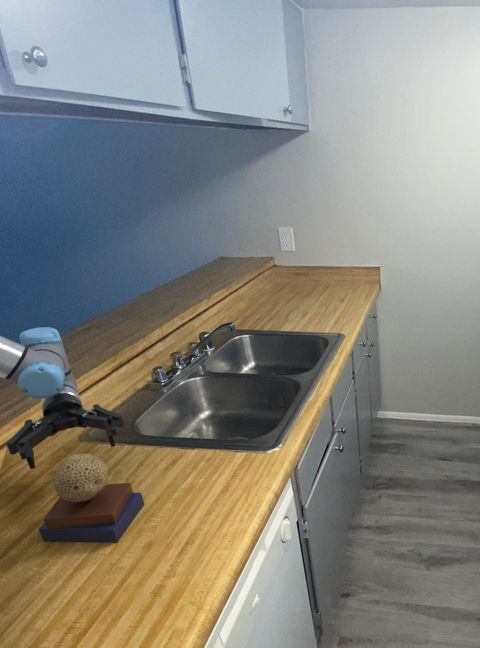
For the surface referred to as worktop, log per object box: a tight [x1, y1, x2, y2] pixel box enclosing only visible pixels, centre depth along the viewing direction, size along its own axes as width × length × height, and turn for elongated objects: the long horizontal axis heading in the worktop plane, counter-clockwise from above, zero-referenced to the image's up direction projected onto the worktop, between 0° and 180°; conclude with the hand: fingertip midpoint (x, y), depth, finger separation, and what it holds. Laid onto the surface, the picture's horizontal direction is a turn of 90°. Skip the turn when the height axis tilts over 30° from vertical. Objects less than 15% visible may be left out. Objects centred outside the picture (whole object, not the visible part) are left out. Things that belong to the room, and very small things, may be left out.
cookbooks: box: [38, 482, 145, 543], centre depth 94 cm, size 14×11×6 cm
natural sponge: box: [52, 453, 109, 502], centre depth 91 cm, size 9×9×10 cm
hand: (72, 451), depth 93 cm, fingers open, 13 cm apart
